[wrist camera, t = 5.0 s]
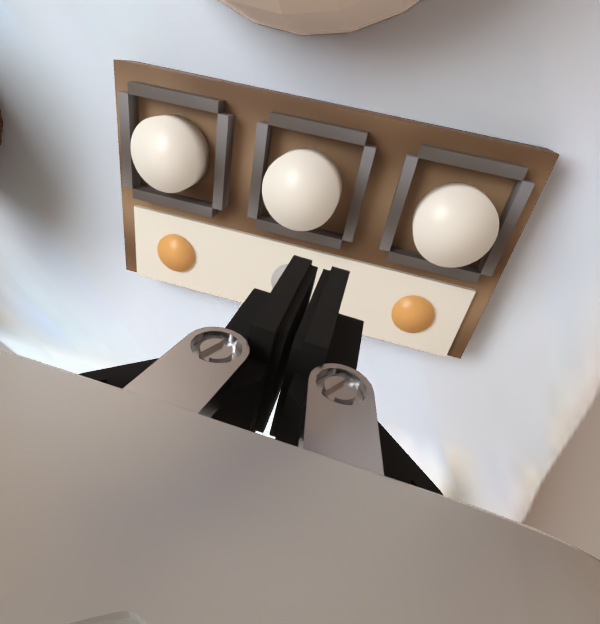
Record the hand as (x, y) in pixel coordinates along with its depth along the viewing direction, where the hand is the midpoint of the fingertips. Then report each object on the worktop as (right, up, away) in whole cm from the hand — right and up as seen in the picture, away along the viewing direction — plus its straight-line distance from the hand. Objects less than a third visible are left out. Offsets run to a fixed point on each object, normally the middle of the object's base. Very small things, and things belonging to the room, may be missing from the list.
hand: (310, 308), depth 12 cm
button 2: (+8, +5, +10) cm, 13 cm away
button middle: (0, +7, +10) cm, 12 cm away
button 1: (-8, +9, +12) cm, 17 cm away
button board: (0, +6, +14) cm, 16 cm away
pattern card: (-1, +2, +15) cm, 15 cm away
